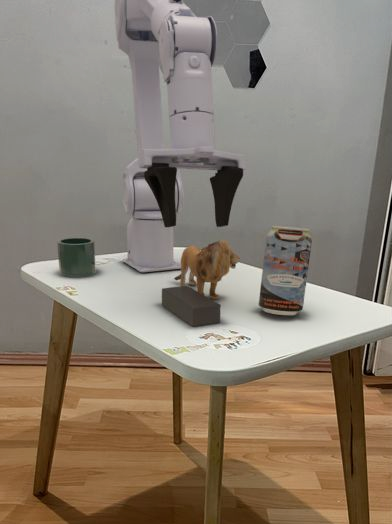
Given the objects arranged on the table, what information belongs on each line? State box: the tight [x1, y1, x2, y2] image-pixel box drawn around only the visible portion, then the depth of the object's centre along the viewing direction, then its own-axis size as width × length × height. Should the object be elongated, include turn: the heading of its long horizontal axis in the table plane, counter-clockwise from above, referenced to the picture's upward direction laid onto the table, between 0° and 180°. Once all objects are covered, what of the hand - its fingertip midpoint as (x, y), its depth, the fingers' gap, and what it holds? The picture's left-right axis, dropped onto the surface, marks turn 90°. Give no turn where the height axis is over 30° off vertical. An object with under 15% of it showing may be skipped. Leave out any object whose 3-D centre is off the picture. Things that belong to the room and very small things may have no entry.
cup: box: [56, 237, 97, 278], centre depth 96 cm, size 6×6×6 cm
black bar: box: [161, 285, 221, 327], centre depth 77 cm, size 10×4×2 cm, turn 27°
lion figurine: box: [173, 240, 241, 300], centre depth 85 cm, size 15×5×9 cm, turn 33°
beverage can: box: [258, 225, 313, 316], centre depth 76 cm, size 6×7×12 cm
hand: (196, 226), depth 74 cm, fingers open, 7 cm apart
